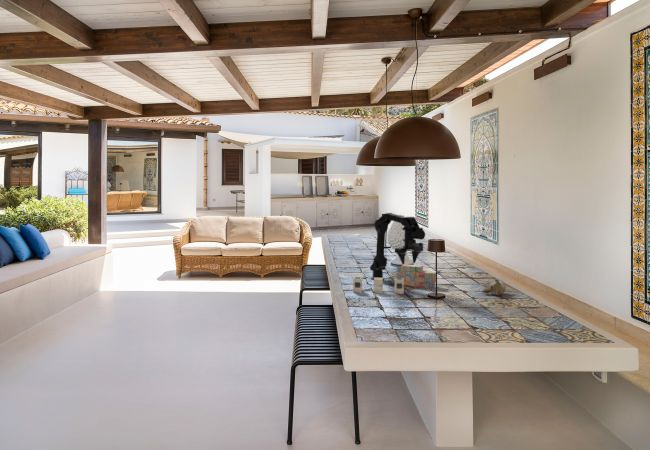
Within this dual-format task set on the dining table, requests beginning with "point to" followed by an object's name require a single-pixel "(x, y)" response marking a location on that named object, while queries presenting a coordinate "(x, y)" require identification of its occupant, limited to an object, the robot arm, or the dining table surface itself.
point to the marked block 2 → (399, 286)
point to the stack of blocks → (417, 276)
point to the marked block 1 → (357, 284)
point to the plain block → (378, 285)
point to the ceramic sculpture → (495, 288)
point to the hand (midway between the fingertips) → (408, 263)
